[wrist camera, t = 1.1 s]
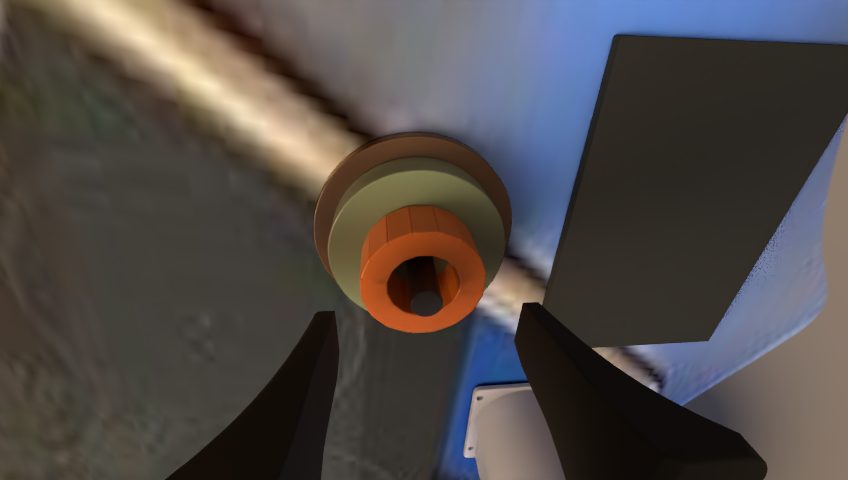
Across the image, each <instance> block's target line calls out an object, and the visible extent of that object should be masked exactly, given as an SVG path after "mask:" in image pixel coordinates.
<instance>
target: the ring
mask: <svg viewBox="0 0 848 480" xmlns="http://www.w3.org/2000/svg"><path fill="white" fill-rule="evenodd" d="M417 256H435V257H438V258H441V259H444V260H446V261H448V264H447V266H446V267H445V269H444V270H443V271H442V272H441V273H440V274H438V275H437V276H438V280H439V284H440V289H441V293H442V297H443V306H442V308H441V310H440V311H439V312H438V313H437V314H435V315H433V316H429V317H422V316H418V315H416V314H415V313H414V312H413V311H412V310H411V308H410V301H409V291H408V282H407V280H404V279H401V278H400V277H398V276H397V275H396V274H394V273H393V272H392V271H393V270H394V269H395V268H397V267H398V266H399V265H400V264H401V263H402V262H404V261H406V260H409V259H412V258H414V257H417ZM485 280H486V271H485V268H484V265H483V262H482V259H481V256H480V254H479V252H478V250H477V247H476V245H475V243H474V241H473V238H472V236H471V234H470V232H469V229H468V228H467V226H466V225H465V224H464V223H463V222H461V221H460V220H459V219H458V218H457V217H456V216H455V215H454V214H452V213H450V212H448V211H445V210H443V209H440V208H437V207H435V206H409V207H408V206H407V207H404V208H402V209H399V210H396V211H394V212H391V213H389V214H387V215H385V216H384V217H383V218H382V219H381V220H380V221H379V222H378V223H377V224H375V225H374V226H373V227H372V228H371V230H370V231H369V233H368V235H367V238H366V240H365V242H364V245H363V248H362V257H361V268H360V294H361V300H362V301H363V303H364V304H365V306H366V308H367V309H368V311H369V313H370V314H371V315H372V316H373V317H374V318H375V319H377V320H378V321H380V322H381V323H383V324H384V325H386V326H387V327H390V328H393V329H397V330H401V331H405V332H411V333H420V332H432V331H437V330H440V329H443V328H446V327H449V326H452V325H454V324H456V323H457V322H459V321H460V320H461V319H463V318H464V317H465V316H467V315H468V314H469V313H471V311H473V310H474V308H475V307H476V305H477V303H478V302H479V300H480V299H481V297H482V296H483V293H484V287H485Z"/></svg>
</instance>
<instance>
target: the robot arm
mask: <svg viewBox="0 0 848 480" xmlns="http://www.w3.org/2000/svg"><path fill="white" fill-rule="evenodd" d="M514 342H515V345H516V349H517V352H518V356H519V359H520V362H521V365H522V368H523V370H524V372H525V375H526V377H527V379H528V382H529V383H520V384H505V385H490V386H478V387H476V388H475V389H474V390H473V396H472V402H471V408H470V414H469V420H468V426H467V432H466V438H465V444H464V450H463V453H464V456H465V457H467V458H471V457H475V459H476V463H477V468H478V472H479V477H480V480H763V479H764V478H765V476H766V473H767V465H766V462H765V461H764V460H763V459H762V458H761V457H760V456H759V454H758V453H757V452H756V451H755V450H754V449H753V448H752V447H751V446H750V444H748V442H747V441H746V440H745V439H744V438H743V437H742V436H741V434H740V433H737V432H735V431H733V430H731V429H729V428H727V427H724V426H722V425H720V424H718V423H715V422H713V421H711V420H709V419H707V418H704V417H702V416H700V415H698V414H696V413H694V412H692V411H690V410H688V409H686V408H684V407H682V406H680V405H678V404H676V403H675V402H673V401H671V400H669V399H667V398H665V397H664V396H662V395H660V394H658V393H657V392H655V391H653V390H652V389H650V388H648V387H646V386H645V385H643V384H641V383H640V382H638V381H637V380H635V379H634V378H632V377H630V376H629V375H628V374H626V373H625V372H623V371H622V370H620V369H619V368H617V367H616V366H614V365H613V364H611V363H610V362H609V361H607V360H606V359H605V358H603V357H602V356H601V355H599V354H598V353H597V352H596V351H594V350H593V349H592V348H590V347H589V346H588V345H587V344H585V343H584V342H583V341H582V340H581V339H579V338H578V337H577V336H576V335H575V334H573V333H572V332H571V331H570V330H569V329H568V328H567V327H565V326H564V325H563V324H562V323H561V322H560V321H559V320H558V319H556V318H555V317H554V316H553V315H552V314H551V313H550V312H549V311H547V310H546V309H545V308H544V307H543V306H542V305H541V304H539V303H538V302H534V303H523V305H522V310H521V314H520V318H519V323H518V327H517V331H516V336H515V340H514ZM338 362H339V343H338V335H337V326H336V318H335V311H322V312H317V313H316V314H315V315H314V317H313V319H312V321H311V322H310V324H309V326H308V328H307V329H306V331H305V333H304V334H303V336H302V337H301V339H300V341H299V342H298V344H297V345H296V346H295V348H294V349H293V351H292V352H291V354H290V355H289V357H288V358H287V360H286V361H285V362H284V364H283V365H282V366H281V367H280V369H279V370H278V371H277V373H276V374H275V375H274V377H273V378H272V379H271V380H270V382H269V383H268V384H267V385H266V386H265V388H264V389H263V390H262V391H261V392H260V393H259V394H258V396H257V397H256V398H255V399H254V400H253V401H252V402H251V403H250V404H249V405H248V406H247V407H246V408H245V410H244V411H243V412H242V413H241V414H240V415H239V416H238V417H237V418H236V419H235V420H234V421H233V422H232V423H231V424H230V425H229V426H228V427H227V428H226V429H224V430H223V431H222V432H221V433H220V434H219V435H218V436H217V437H216V438H214V439H213V440H212V441H211V442H210V443H209V444H208V445H207V446H206V447H204V448H203V449H202V450H201V451H200V452H199V453H198V454H196V455H195V456H194V457H193V458H192V459H190V460H189V461H188V462H187V463H185V464H184V465H183V466H182V467H180V468H179V469H178V470H177V471H175V472H174V473H173V474H171V475H170V476H169V477H168V478H166V479H165V480H321V471H322V461H323V452H324V445H325V438H326V433H327V427H328V422H329V417H330V412H331V407H332V402H333V397H334V391H335V386H336V381H337V374H338Z"/></svg>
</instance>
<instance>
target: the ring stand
mask: <svg viewBox="0 0 848 480" xmlns="http://www.w3.org/2000/svg"><path fill="white" fill-rule="evenodd" d="M407 206H408V207H409V206H435V207H437V208H440V209H443V210H445V211H448V212H450V213H452V214H454V215H455V216H456V217H457V218H458V219H459V220H460V221H461V222H463V223H464V224H465V225H466V226H467V228H468V229H469V232H470V234H471V236H472V238H473V241H474V243H475V245H476V247H477V250H478V252H479V254H480V256H481V259H482V262H483V265H484V268H485V271H486V280H485V287H484V291H485V289H486V288H487V287H488V286H489V285H490V283H491V282H492V281H493V279H494V277H495V276H496V274H497V272H498V270H499V268H500V265H501V263H502V259H503V255H504V253H505V250H506V248H507V245H508V242H509V238H510V234H511V225H512V213H511V206H510V200H509V197H508V194H507V191H506V189H505V187H504V185H503V183H502V181H501V179H500V177H499V176H498V175H497V173H496V172H495V171H494V169H493V168H492V167H491V166H490V164H489V163H488V162H487V161H486V160H485V159H484V158H483V157H482V156H481V155H479V154H478V153H477V152H475V151H474V150H473V149H471V148H470V147H468V146H466V145H464V144H462V143H461V142H459V141H456V140H454V139H451V138H448V137H446V136H441V135H437V134H432V133H421V132H411V133H399V134H394V135H389V136H386V137H383V138H379V139H376V140H374V141H372V142H370V143H368V144H366V145H363V146H361V147H360V148H358V149H357V150H355V151H354V152H352V153H351V154H350V155H348V156H347V157H346V158H345V159H344V160H343V161H342V162H341V163H340V164H339V165H338V166H337V167H336V168H335V169H334V171H333V172H332V173H331V174H330V176H329V178H328V179H327V181H326V183H325V184H324V186H323V189H322V191H321V193H320V196H319V198H318V201H317V204H316V208H315V212H314V221H313V232H314V240H315V245H316V249H317V252H318V254H319V257H320V260H321V261H322V263H323V265H324V267H325V269H326V270H327V271H328V273H329V274H330V275H331V277H332V278H333V279H334V280H335V281H336V282H337V283H338V285H339V287H340V288H341V289H342V290H343V292H344V293H345V294H346V295H347V296H348V297H349V298H350V299H351V300H352V301H353V302H355V303H356V304H357V305H359V306H360V307H362V308H363V309H365V310H367V311H368V309H367V308H366V306H365V304H364V303H363V301H362V300H361V294H360V268H361V257H362V248H363V245H364V242H365V240H366V238H367V235H368V233H369V231H370V230H371V228H372V227H373V226H374V225H375V224H377V223H378V222H379V221H380V220H381V219H382V218H383V217H384V216H385V215H387V214H389V213H391V212H394V211H396V210H399V209H402V208H404V207H407ZM447 264H448V261H446V260H444V259H441V258H438V257H435V256H417V257H414V258H412V259H409V260H406V261H404V262H402V263H401V264H400V265H399V266H398V267H397V268H395V269H394V270H393V271H392V272H393V273H394V274H396V275H397V276H398V277H400V278H401V279H404V280H407V282H408V291H409V301H410V308H411V310H412V311H413V312H414V313H415V314H416V315H418V316H422V317H429V316H433V315H435V314H437V313H438V312H439V311H440V310H441V308H442V306H443V297H442V293H441V289H440V284H439V280H438V276H437V275H438V274H440V273H441V272H442V271H443V270H444V269H445V267H446V266H447Z"/></svg>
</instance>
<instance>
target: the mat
mask: <svg viewBox="0 0 848 480" xmlns="http://www.w3.org/2000/svg"><path fill="white" fill-rule="evenodd" d="M847 113H848V45H834V44H812V43H790V42H768V41H745V40H723V39H701V38H679V37H657V36H635V35H615V36H614V39H613V43H612V46H611V50H610V54H609V58H608V61H607V65H606V69H605V73H604V76H603V80H602V84H601V88H600V91H599V95H598V99H597V103H596V106H595V110H594V114H593V118H592V121H591V125H590V129H589V133H588V136H587V140H586V144H585V148H584V151H583V155H582V159H581V163H580V166H579V170H578V174H577V178H576V182H575V185H574V189H573V193H572V197H571V200H570V204H569V208H568V212H567V215H566V219H565V223H564V227H563V230H562V234H561V238H560V242H559V245H558V249H557V253H556V257H555V260H554V264H553V268H552V272H551V275H550V279H549V283H548V287H547V290H546V294H545V298H544V302H543V305H542V306H543V307H544V308H545V309H546V310H547V311H549V312H550V313H551V314H552V315H553V316H554V317H555V318H556V319H558V320H559V321H560V322H561V323H562V324H563V325H564V326H565V327H567V328H568V329H569V330H570V331H571V332H572V333H573V334H575V335H576V336H577V337H578V338H579V339H581V340H582V341H583V342H584V343H585V344H587V345H588V346H589V347H590V348H595V347H612V346H630V345H647V344H665V343H682V342H700V341H709V339H710V337H711V336H712V334H713V332H714V331H715V329H716V327H717V326H718V324H719V323H720V321H721V319H722V318H723V316H724V314H725V313H726V311H727V309H728V308H729V306H730V305H731V303H732V301H733V300H734V298H735V296H736V295H737V293H738V291H739V290H740V288H741V287H742V285H743V283H744V282H745V280H746V278H747V277H748V275H749V273H750V272H751V270H752V269H753V267H754V265H755V264H756V262H757V260H758V259H759V257H760V255H761V254H762V252H763V251H764V249H765V247H766V246H767V244H768V242H769V241H770V239H771V237H772V236H773V234H774V233H775V231H776V229H777V228H778V226H779V224H780V223H781V221H782V220H783V218H784V216H785V215H786V213H787V211H788V210H789V208H790V206H791V205H792V203H793V202H794V200H795V198H796V197H797V195H798V193H799V192H800V190H801V188H802V187H803V185H804V184H805V182H806V180H807V179H808V177H809V175H810V174H811V172H812V170H813V169H814V167H815V166H816V164H817V162H818V161H819V159H820V157H821V156H822V154H823V152H824V151H825V149H826V148H827V146H828V144H829V143H830V141H831V139H832V138H833V136H834V134H835V133H836V131H837V130H838V128H839V126H840V125H841V123H842V121H843V120H844V118H845V116H846V115H847Z"/></svg>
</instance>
